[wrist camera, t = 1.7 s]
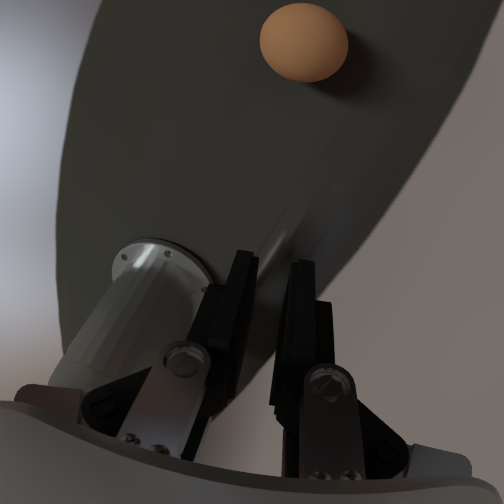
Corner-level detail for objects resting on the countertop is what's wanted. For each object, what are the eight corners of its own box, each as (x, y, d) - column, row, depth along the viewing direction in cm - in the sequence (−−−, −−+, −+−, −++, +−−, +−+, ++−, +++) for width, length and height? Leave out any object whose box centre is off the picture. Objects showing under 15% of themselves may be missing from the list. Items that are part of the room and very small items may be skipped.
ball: (325, 93, 22) (333, 99, 17) (253, 65, 21) (240, 63, 16) (353, 30, 18) (369, 18, 13) (280, 1, 18) (274, -19, 13)
